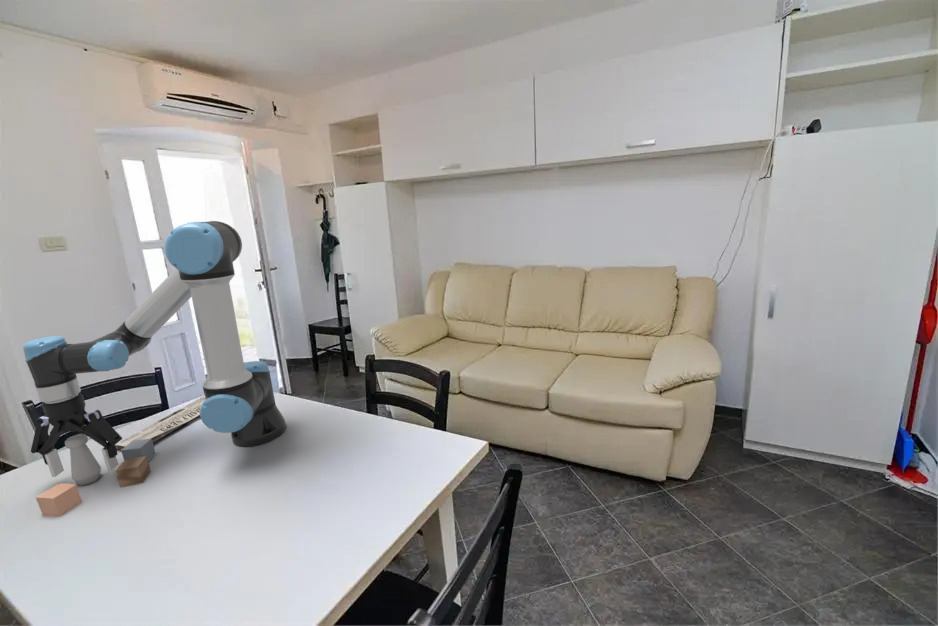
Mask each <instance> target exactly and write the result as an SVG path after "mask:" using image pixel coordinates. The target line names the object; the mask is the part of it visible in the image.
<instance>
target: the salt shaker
mask: <svg viewBox="0 0 938 626" xmlns="http://www.w3.org/2000/svg"><path fill="white" fill-rule="evenodd" d="M88 440H89V437H88V436H87V435H85V434H84V433H77V434H75V435H72V436H69V437H68V438H66V440H64V446H65V448H66V449H69V453H70V455H69V456H70V468H71V471H70V472H71V479H72V481H74V482H75V483H76V484H78V486H79V485H80V486H86V485H89V484H92V483H95V482H96V481H97V480H99V479H100V476H101V472H102V467H101V465H100V463H99V462H98V460H97V459H96V457H95V455H94V453H92V451H91V450H90V448H89V447H88V445H87V443H88Z"/></svg>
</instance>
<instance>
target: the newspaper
mask: <svg viewBox="0 0 938 626" xmlns="http://www.w3.org/2000/svg"><path fill="white" fill-rule="evenodd" d="M204 396H205V395H203V396H202V397H203V398H202V397H199V398H200V399H199V398H198V399H195V400H194V401H192V402H190V403H188V404H187V405H185V406H183V407H181V408H179V409H178V410H175V411H174V412H172V413H170V414H169V415H167V416H165V417H163V418H161V419H159V420H158V421H156V422H154V423H152V424H150V425H149V426H147V427H145V428H143V429H141V430H139V431H138V432H136V433H133V434H132V435H130V436H129V437H127V438H125V439H124V440H123V439H122V440H121V441H119V442H118V443H117V444H115V446H116V450H122V449H123V448H124V447H126V446H127V445H128V444H129V443H131V442H132V441H134V440H143V439H152V442H153V444H154V443H156V442H157V441H158V440H160V439H162V438H163V437H165V436H167V435H168V434H170V433H172V432H174V431H176V430H177V429H179V428H180V427H183V426H184V425H186V424H188V423H189V422H192V420H194V419H196V418H198V417H200V409H201V406H202V404H203V402H204V401H205V397H204Z"/></svg>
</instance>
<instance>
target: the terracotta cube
mask: <svg viewBox="0 0 938 626" xmlns="http://www.w3.org/2000/svg"><path fill="white" fill-rule="evenodd" d="M35 499H36V502H37V504H38V506H39V509H40V512H41V515H42V516H48V517H49V516H51V517H62V516H63V515H65V514H66V513H67V512H69V511H71V510H72V509H73V508H76V506H78V505H80V504H82V502H83V500H82V497H81V495H80V491H79V489H78V486H77V483H76V484H74V483H58V484H56V485H54V486H53V487H51V488H49V489H47V490H46V491H44V492H43V493H40V494H39V495H37V496H36V497H35Z"/></svg>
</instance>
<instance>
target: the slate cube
mask: <svg viewBox="0 0 938 626" xmlns="http://www.w3.org/2000/svg"><path fill="white" fill-rule="evenodd" d="M120 451H121V455H122V458H123V461H124V460H127V459H132V458H138V457H143V456H147V459H148V461H149V460H151V459H152V457H154V456H156V454H157V453H156V449H155V446H154V443H153V442H152V439H143V440H134V441H132V442H131V443H129V444H128V445H127V446H126V447H124V448H123V449H120Z"/></svg>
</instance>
